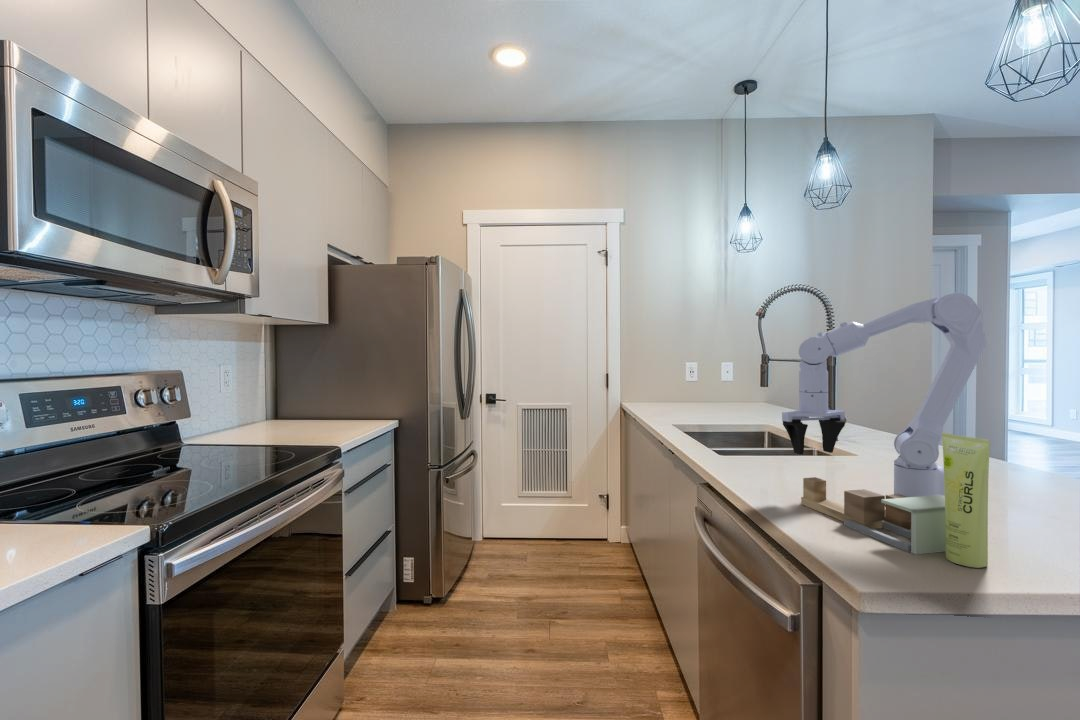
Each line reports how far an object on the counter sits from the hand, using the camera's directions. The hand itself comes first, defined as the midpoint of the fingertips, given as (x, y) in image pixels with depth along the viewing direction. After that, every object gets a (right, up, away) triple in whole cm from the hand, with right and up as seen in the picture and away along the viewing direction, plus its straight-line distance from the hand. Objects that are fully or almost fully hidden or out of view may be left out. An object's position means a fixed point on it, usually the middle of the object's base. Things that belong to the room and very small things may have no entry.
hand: (813, 452), depth 113 cm
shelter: (+5, -10, -27) cm, 30 cm away
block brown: (+5, -10, -17) cm, 20 cm away
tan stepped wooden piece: (-2, -10, -13) cm, 16 cm away
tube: (+5, -11, -35) cm, 37 cm away
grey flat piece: (+3, -10, -23) cm, 26 cm away
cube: (-1, -9, -18) cm, 20 cm away
